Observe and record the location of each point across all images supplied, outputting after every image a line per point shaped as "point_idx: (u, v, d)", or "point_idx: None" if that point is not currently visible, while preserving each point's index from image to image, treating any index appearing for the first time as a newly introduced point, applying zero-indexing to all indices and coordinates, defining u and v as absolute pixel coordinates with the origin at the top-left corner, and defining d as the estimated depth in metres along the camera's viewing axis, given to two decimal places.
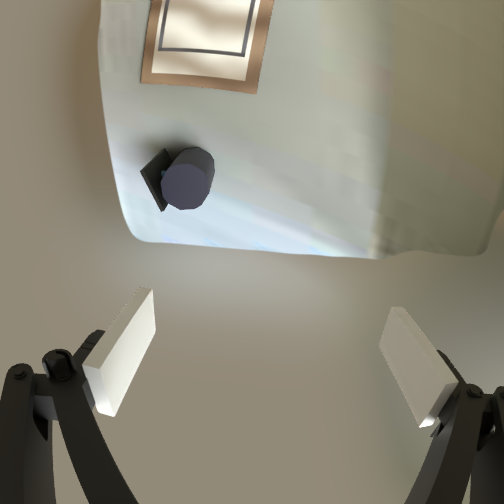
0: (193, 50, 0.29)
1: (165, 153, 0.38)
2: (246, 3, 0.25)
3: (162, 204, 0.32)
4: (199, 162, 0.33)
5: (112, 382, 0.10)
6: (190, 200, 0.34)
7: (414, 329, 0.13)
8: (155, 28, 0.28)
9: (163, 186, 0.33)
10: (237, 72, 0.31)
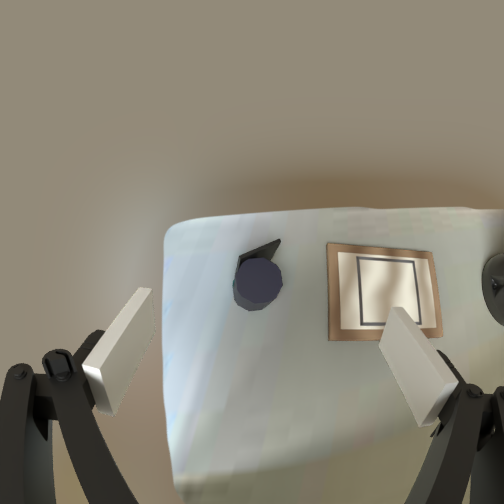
0: (359, 285, 0.43)
1: None
2: None
3: (245, 257, 0.35)
4: None
5: (112, 382, 0.10)
6: (246, 285, 0.35)
7: (414, 329, 0.13)
8: (373, 253, 0.46)
9: (259, 260, 0.36)
10: (346, 322, 0.41)
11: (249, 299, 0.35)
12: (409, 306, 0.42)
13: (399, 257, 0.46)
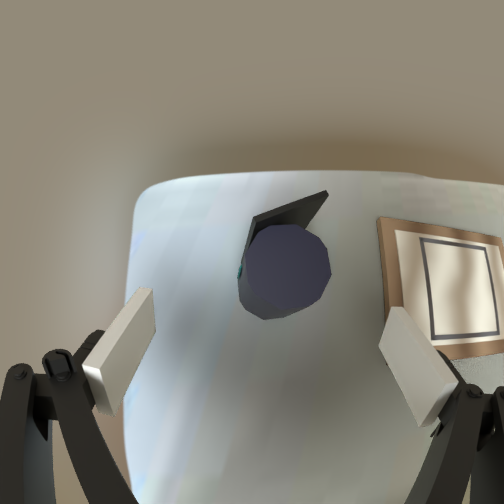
0: (427, 279, 0.26)
1: None
2: (478, 327, 0.24)
3: (264, 221, 0.18)
4: None
5: (112, 382, 0.10)
6: (265, 274, 0.18)
7: (414, 329, 0.13)
8: (439, 234, 0.29)
9: (288, 228, 0.20)
10: None
11: (271, 301, 0.18)
12: (486, 309, 0.25)
13: (468, 241, 0.29)
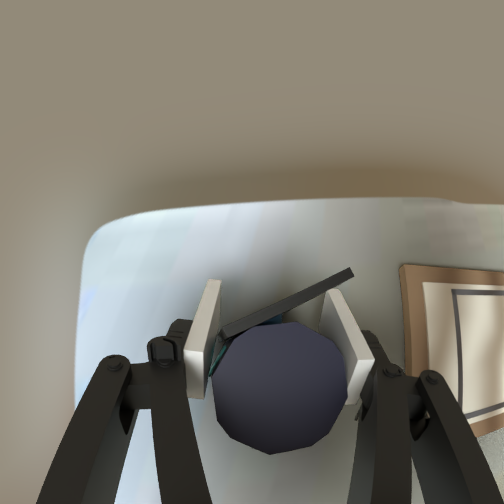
0: (459, 345, 0.18)
1: (284, 312, 0.20)
2: None
3: None
4: None
5: (205, 365, 0.12)
6: (245, 407, 0.10)
7: (343, 309, 0.15)
8: (473, 281, 0.21)
9: (284, 329, 0.12)
10: None
11: (254, 444, 0.10)
12: None
13: None
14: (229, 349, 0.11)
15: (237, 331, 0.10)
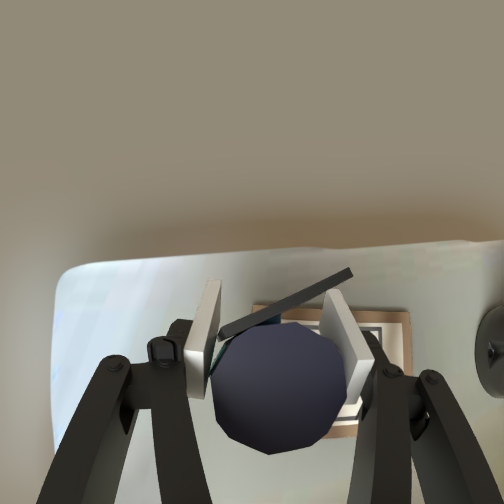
0: None
1: None
2: (351, 411, 0.28)
3: None
4: None
5: (205, 365, 0.12)
6: (243, 407, 0.10)
7: (343, 309, 0.15)
8: None
9: (283, 330, 0.12)
10: None
11: (253, 445, 0.10)
12: None
13: (359, 322, 0.33)
14: (228, 349, 0.11)
15: (236, 331, 0.10)
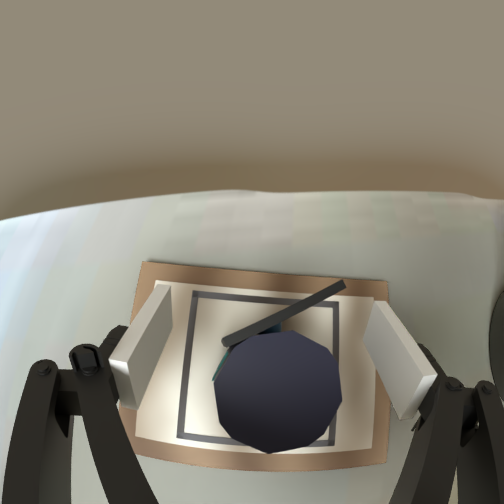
0: (187, 354, 0.20)
1: None
2: None
3: None
4: None
5: (137, 376, 0.10)
6: (244, 410, 0.11)
7: (395, 322, 0.14)
8: (236, 284, 0.22)
9: (280, 338, 0.12)
10: (148, 425, 0.17)
11: (253, 445, 0.11)
12: None
13: (302, 293, 0.22)
14: (229, 357, 0.12)
15: (235, 341, 0.11)
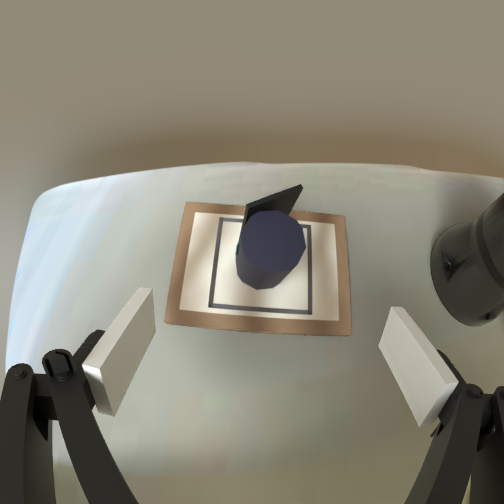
0: (216, 253, 0.34)
1: None
2: (276, 303, 0.31)
3: (254, 207, 0.25)
4: None
5: (112, 382, 0.10)
6: (256, 246, 0.25)
7: (414, 329, 0.13)
8: None
9: (273, 213, 0.26)
10: (189, 300, 0.31)
11: (260, 266, 0.25)
12: (293, 286, 0.32)
13: None
14: (248, 220, 0.26)
15: (252, 206, 0.24)
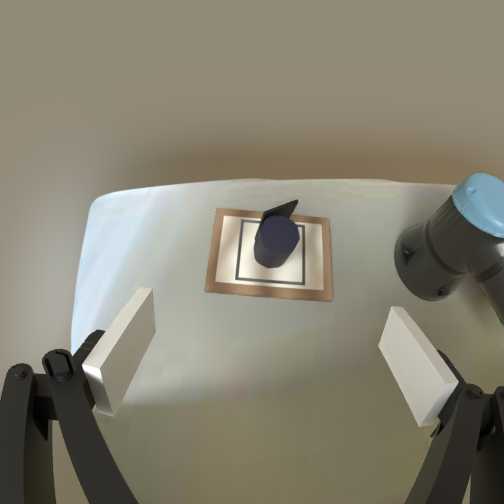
0: (239, 244, 0.49)
1: None
2: (281, 277, 0.47)
3: (268, 214, 0.41)
4: None
5: (112, 382, 0.10)
6: (269, 238, 0.41)
7: (414, 329, 0.13)
8: (260, 217, 0.52)
9: (279, 217, 0.42)
10: (222, 275, 0.47)
11: (272, 249, 0.40)
12: (292, 266, 0.48)
13: None
14: (264, 222, 0.41)
15: (267, 213, 0.40)
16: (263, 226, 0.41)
